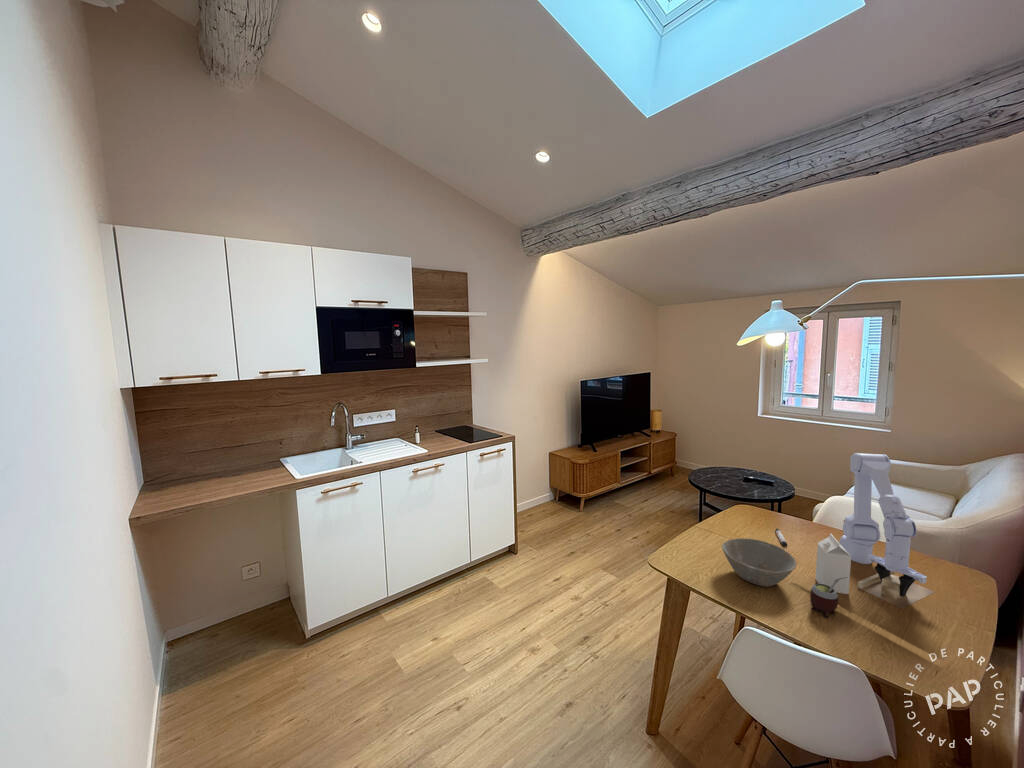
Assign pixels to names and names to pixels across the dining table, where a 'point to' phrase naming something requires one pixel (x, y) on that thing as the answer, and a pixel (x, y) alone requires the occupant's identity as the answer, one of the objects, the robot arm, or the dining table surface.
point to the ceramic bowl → (758, 561)
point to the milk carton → (833, 564)
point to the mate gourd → (824, 598)
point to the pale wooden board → (874, 588)
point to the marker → (781, 537)
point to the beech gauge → (891, 587)
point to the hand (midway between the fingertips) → (893, 591)
